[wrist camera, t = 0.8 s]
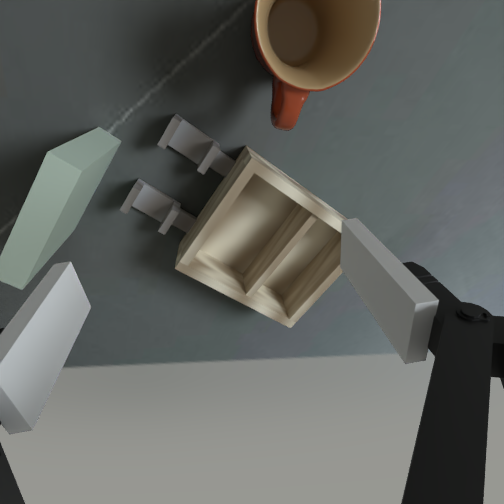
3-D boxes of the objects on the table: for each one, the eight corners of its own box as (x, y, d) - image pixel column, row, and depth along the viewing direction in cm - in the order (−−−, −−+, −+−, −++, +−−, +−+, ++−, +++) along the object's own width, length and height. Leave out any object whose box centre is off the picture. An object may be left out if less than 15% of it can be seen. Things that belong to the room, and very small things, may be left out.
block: (47, 216, 37) (-18, 273, 27) (93, 123, 33) (38, 146, 23) (74, 230, 38) (22, 289, 28) (121, 141, 34) (81, 171, 24)
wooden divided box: (120, 210, 38) (105, 233, 32) (183, 100, 33) (178, 105, 28) (281, 299, 46) (290, 328, 41) (350, 220, 41) (370, 242, 36)
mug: (254, -40, 28) (274, -92, 19) (346, -7, 30) (403, -41, 21) (225, 108, 34) (231, 120, 25) (305, 128, 36) (338, 147, 27)
